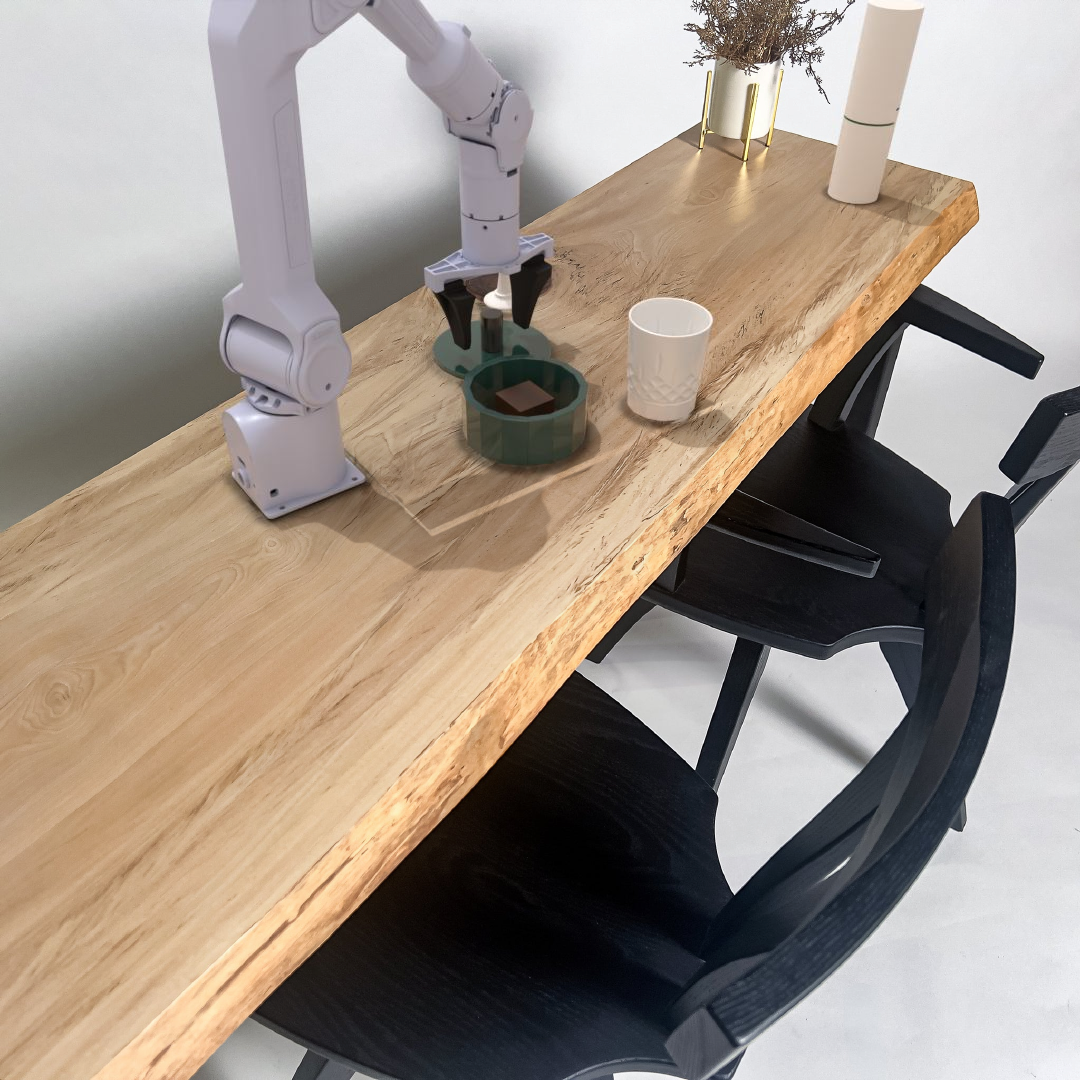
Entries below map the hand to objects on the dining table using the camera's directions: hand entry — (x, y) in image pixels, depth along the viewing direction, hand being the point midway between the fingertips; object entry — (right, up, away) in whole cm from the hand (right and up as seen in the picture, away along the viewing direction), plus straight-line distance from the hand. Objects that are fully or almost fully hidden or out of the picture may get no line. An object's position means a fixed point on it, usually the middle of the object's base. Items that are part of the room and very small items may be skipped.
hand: (492, 335), depth 103 cm
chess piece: (+1, +6, +11) cm, 12 cm away
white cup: (+17, -8, -5) cm, 20 cm away
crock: (+4, -12, -10) cm, 15 cm away
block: (+4, -11, -10) cm, 16 cm away
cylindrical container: (+51, +29, +39) cm, 71 cm away
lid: (0, -1, +1) cm, 2 cm away
